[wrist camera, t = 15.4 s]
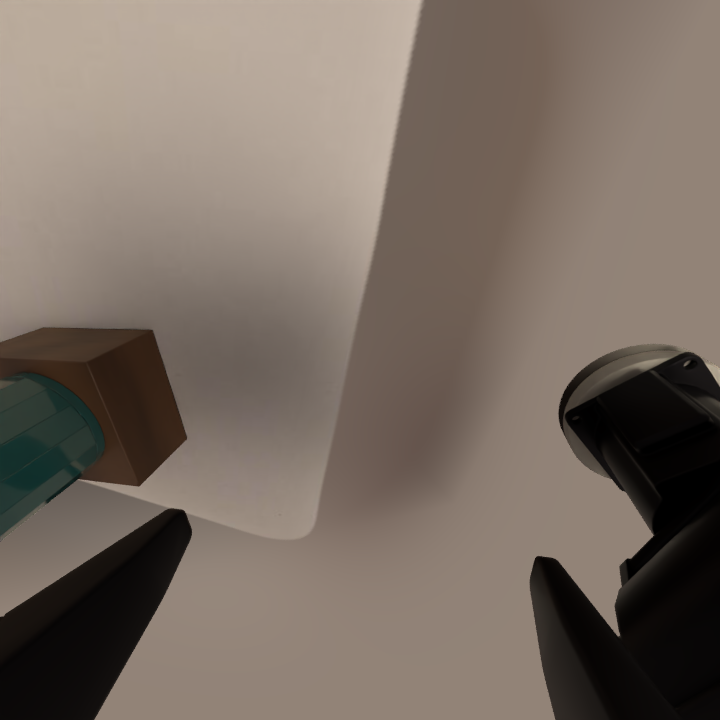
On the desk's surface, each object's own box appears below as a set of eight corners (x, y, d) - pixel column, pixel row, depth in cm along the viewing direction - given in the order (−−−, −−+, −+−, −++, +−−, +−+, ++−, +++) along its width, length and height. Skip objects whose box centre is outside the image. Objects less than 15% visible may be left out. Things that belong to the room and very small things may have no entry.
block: (152, 329, 23) (86, 362, 19) (187, 438, 27) (139, 487, 23) (43, 327, 25) (-42, 356, 20) (90, 430, 29) (28, 473, 24)
